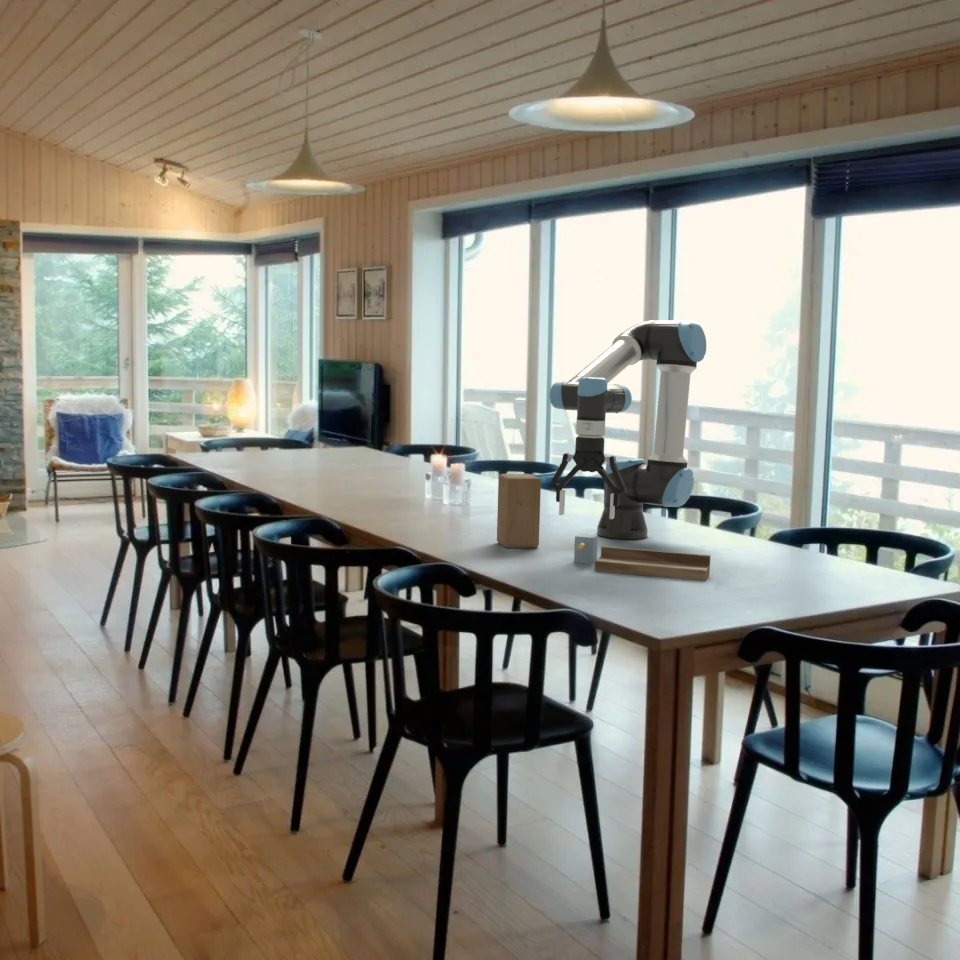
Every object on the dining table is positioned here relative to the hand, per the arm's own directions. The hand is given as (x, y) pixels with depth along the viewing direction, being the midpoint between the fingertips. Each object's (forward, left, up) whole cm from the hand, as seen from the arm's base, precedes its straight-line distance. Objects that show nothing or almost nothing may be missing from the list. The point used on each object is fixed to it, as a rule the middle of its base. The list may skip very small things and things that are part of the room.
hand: (586, 516), depth 302 cm
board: (+7, +19, -12) cm, 24 cm away
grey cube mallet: (+2, 0, -12) cm, 12 cm away
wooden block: (-14, -23, -12) cm, 30 cm away
